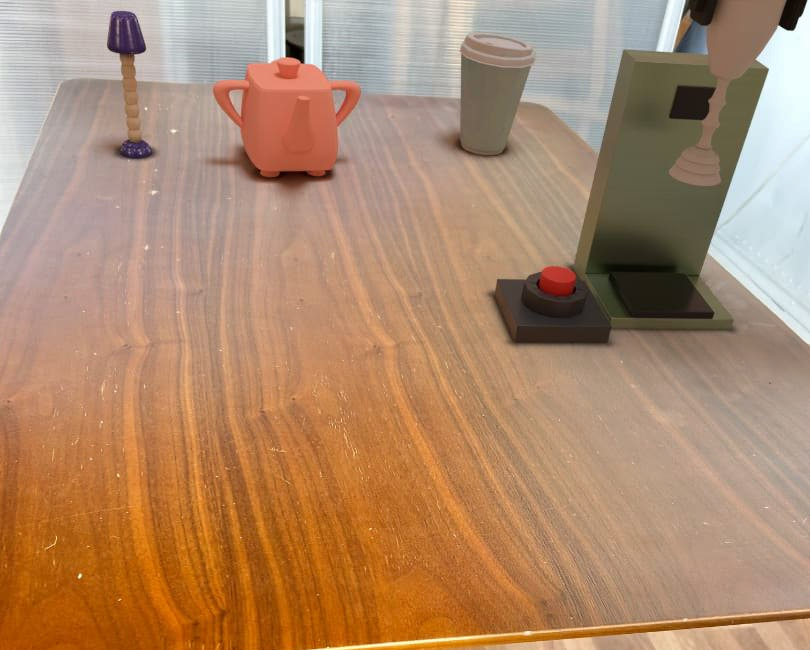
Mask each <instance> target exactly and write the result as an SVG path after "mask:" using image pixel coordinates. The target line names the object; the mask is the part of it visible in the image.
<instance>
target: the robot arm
mask: <svg viewBox="0 0 810 650" xmlns="http://www.w3.org/2000/svg"><path fill="white" fill-rule="evenodd" d="M808 1H809V0H786V3H785V6H784V9H783V12H782V15H781V18H780V21H779V24H778V27H780V28H781V29H783V30H785V31H788V32H794V31H795V30H796V28H797V25H798V22H799V19H800V18H801V17H802V16H803V14H804V12H805V9H806V6H807V3H808ZM716 4H717V0H689V2H688V9H689V18H690V19H691V20H692V21H694V22H695V23H697V24H698V25H700V26H703V27H706V26H708V25H709V24H711V21H712V18H713V14H714V11H715V7H716Z"/></svg>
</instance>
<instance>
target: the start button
mask: <svg viewBox="0 0 810 650" xmlns="http://www.w3.org/2000/svg"><path fill="white" fill-rule="evenodd" d="M540 272H541V277H540V282H539V289H540V290H541V291H543V292H545V293H547V294H551V295H554V296H568V295H571V294H572V293H573V289H574V285H575V281H576V279H577V274H576V272H575V271H573V270H571V269H570V268H568V267H567V268H566V267H563V266H560V265H559V266H558V265H552V266H551V265H550V266H546V267H544V268H543V269H542V270H541V271H540Z"/></svg>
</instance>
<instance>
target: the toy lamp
mask: <svg viewBox="0 0 810 650" xmlns="http://www.w3.org/2000/svg"><path fill="white" fill-rule="evenodd" d="M106 47H107V49H108V51H109V52H111V53H115V54H118V55H119V60H120V63H121V65H120V72H121V75H122V80H121V82H122V88H123V100H124V102H125V104H124V111H125V115H126V119H125V120H126V121H125V122H126V126H127V128H128V129H127V138H128V139H126V140H124V141H123V143H121V146H120V148H119V154H120V156H122V157H124V158H127V159H133V160H135V159H136V160H138V159H146V158H150V157H151V156H153V154H154V153H153V149H152V146H150V144H149V143H148V142H147V141H145V140H144V139H142V137H143V135H142V130H141V119H140V117H139V116H140V112H141V111H140V106H139V104H138V102H139V94H138V92H137V88H138V82H137V78H136V74H137V71H136V69H137V68H136V66H135V60H136V58H135V55H141V54H143V53H145V52H146V51H147V46H146V42H145V38H144V35H143V33H142V29H141V24H140V21H139V20H138V17H137V15H136V13H134V12H133V11H127V10H114V11H112V12H111V13H110V17H109V25H108V32H107V41H106Z"/></svg>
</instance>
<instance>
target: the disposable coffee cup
mask: <svg viewBox="0 0 810 650" xmlns="http://www.w3.org/2000/svg"><path fill="white" fill-rule="evenodd" d="M459 53H460V115H459V116H460V117H459V118H460V125H459V127H460V129H459V141H460V143H461V144H460V145H461V147H462V148H463V149H464V150H465V151H467V152H469V153H472V154H475V155H482V156H496V155H499V154H502V153H503V151H504V150H505V148H506V145H507V143H508V139H509V136H510V133H511V130H512V127H513V124H514V121H515V119H516V118H515V117H516V115H517V111H518V108H519V105H520V103H521V99H522V95H523V93H524V90H525V87H526V83H527V81H528V78H529V74H530V71H531V69H532V66H534V64H535V62H536V51H535V50H534V46H533V45H532V44H530V43H529V42H527V41H525V40H523V39H520V38H517V37H513V36H510V35H504V34H499V33H492V32H479V31H478V32H469V33H467V35H465V38H464V39H463V40H462V42H461V44H460V50H459Z"/></svg>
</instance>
